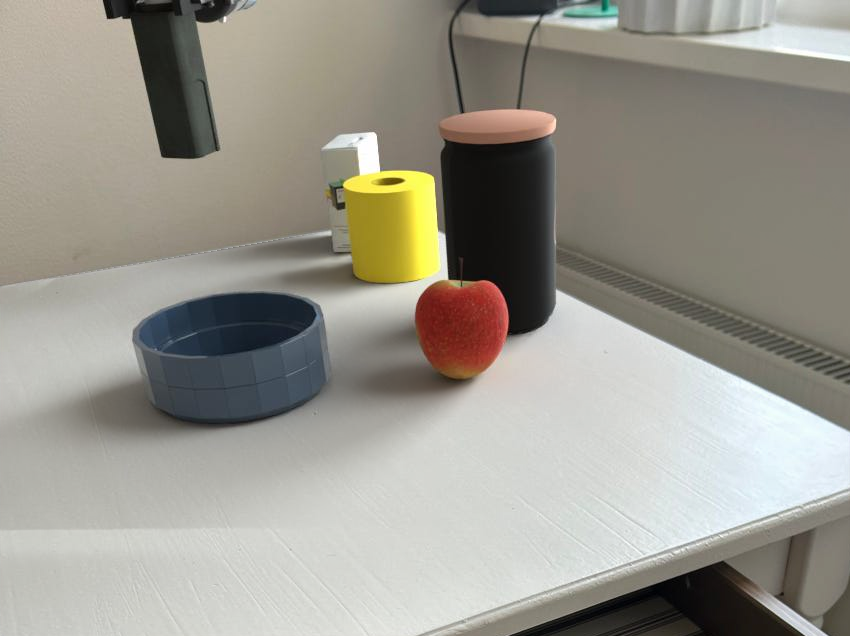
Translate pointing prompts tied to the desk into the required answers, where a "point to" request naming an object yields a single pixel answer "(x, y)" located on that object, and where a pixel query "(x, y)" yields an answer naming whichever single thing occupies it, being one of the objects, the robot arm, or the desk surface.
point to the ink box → (346, 177)
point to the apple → (461, 325)
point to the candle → (175, 80)
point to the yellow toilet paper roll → (392, 226)
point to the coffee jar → (503, 207)
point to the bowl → (233, 355)
